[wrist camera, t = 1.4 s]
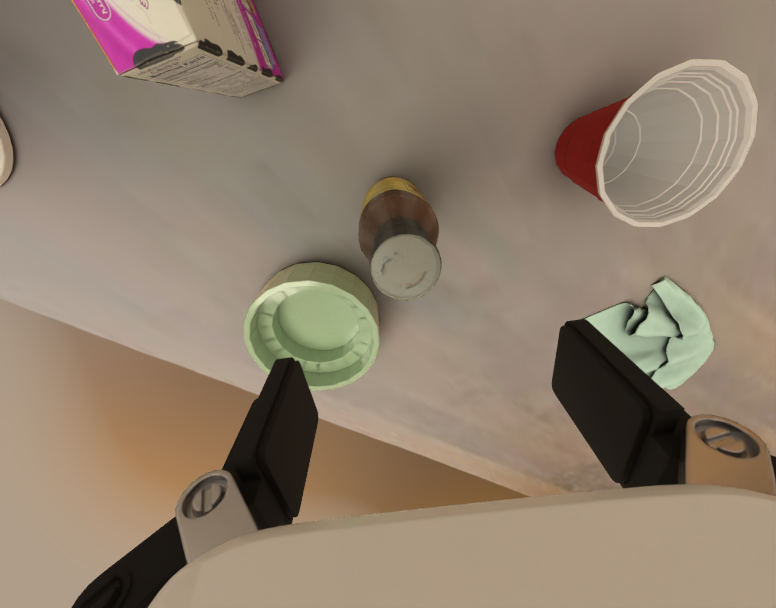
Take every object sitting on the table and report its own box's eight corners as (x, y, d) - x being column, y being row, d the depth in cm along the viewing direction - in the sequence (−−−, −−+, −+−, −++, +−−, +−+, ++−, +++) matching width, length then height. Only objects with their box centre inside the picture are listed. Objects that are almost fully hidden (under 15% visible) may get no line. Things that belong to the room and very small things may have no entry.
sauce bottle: (423, 225, 36) (468, 314, 19) (371, 236, 37) (366, 333, 19) (414, 166, 33) (457, 206, 16) (357, 179, 33) (336, 233, 16)
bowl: (259, 351, 44) (243, 380, 39) (262, 248, 37) (243, 268, 32) (366, 367, 46) (365, 398, 41) (390, 273, 39) (392, 295, 34)
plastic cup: (648, 69, 30) (797, 36, 19) (626, 188, 35) (733, 213, 24) (531, 94, 30) (613, 75, 20) (527, 207, 35) (590, 239, 25)
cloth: (680, 393, 51) (693, 404, 49) (549, 392, 50) (557, 403, 48) (758, 278, 41) (779, 286, 39) (596, 273, 40) (609, 281, 38)
